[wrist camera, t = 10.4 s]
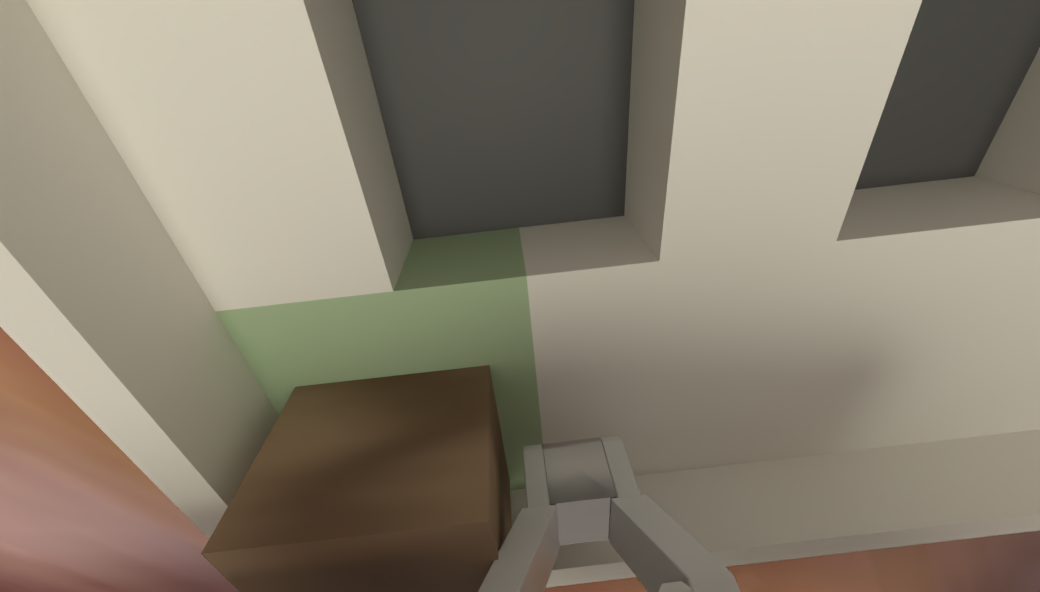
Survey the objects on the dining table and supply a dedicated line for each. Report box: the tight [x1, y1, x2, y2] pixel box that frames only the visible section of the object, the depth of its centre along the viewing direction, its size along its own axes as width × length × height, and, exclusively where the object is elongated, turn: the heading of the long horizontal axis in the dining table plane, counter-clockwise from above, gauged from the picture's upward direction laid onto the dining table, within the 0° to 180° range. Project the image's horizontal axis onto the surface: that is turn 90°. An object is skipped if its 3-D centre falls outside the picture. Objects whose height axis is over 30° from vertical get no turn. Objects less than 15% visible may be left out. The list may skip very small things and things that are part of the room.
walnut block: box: [201, 365, 512, 592], centre depth 10 cm, size 5×5×4 cm
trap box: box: [0, 0, 1040, 587], centre depth 10 cm, size 28×16×6 cm, turn 95°
